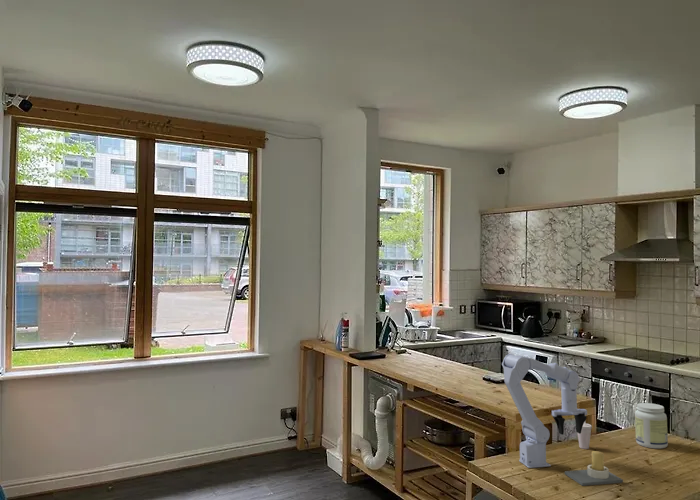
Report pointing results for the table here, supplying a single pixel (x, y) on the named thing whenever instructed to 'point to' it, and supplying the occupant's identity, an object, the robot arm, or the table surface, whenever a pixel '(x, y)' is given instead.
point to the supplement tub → (651, 426)
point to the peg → (597, 461)
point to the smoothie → (584, 436)
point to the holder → (593, 476)
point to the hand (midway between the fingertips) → (569, 433)
